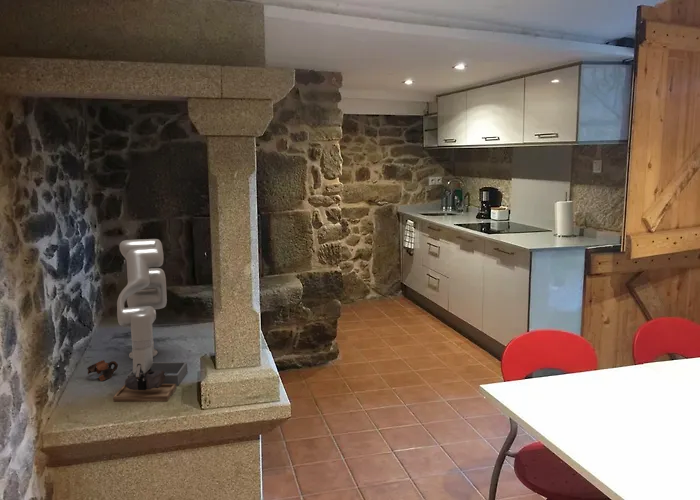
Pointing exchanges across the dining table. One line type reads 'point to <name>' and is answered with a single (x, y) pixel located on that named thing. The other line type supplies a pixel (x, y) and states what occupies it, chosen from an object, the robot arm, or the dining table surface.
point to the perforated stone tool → (147, 380)
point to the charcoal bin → (169, 371)
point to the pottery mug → (103, 369)
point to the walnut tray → (145, 394)
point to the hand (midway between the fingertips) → (145, 386)
